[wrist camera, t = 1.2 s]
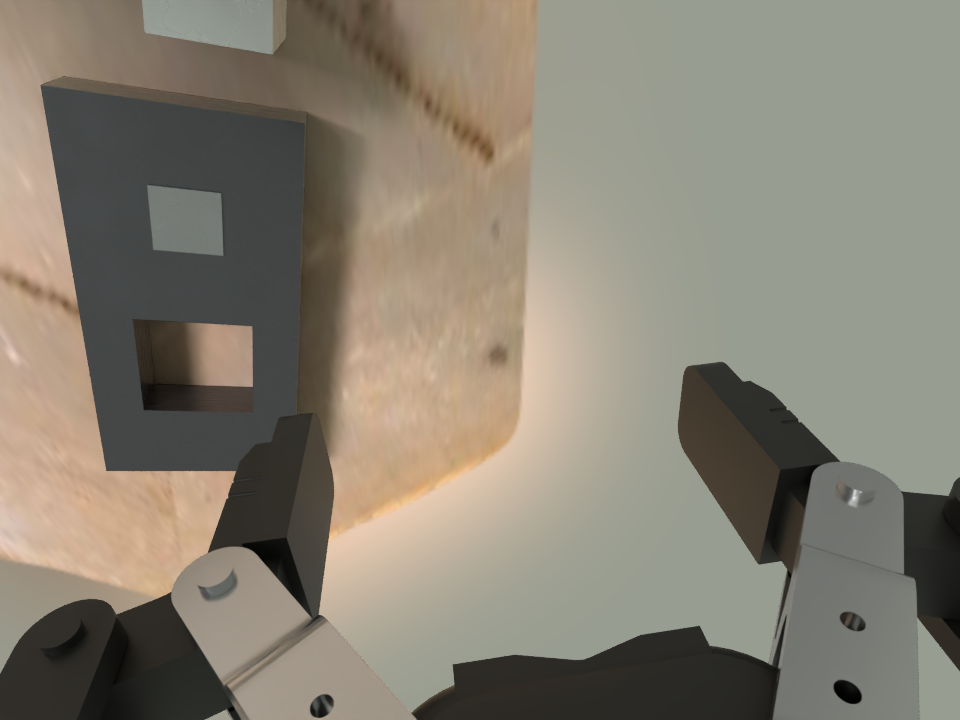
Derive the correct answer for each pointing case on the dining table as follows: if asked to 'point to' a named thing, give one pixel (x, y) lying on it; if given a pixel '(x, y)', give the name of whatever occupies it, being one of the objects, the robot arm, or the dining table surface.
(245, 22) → the grey rectangular block
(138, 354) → the dark grey flat board
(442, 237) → the dining table surface
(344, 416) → the dining table surface
